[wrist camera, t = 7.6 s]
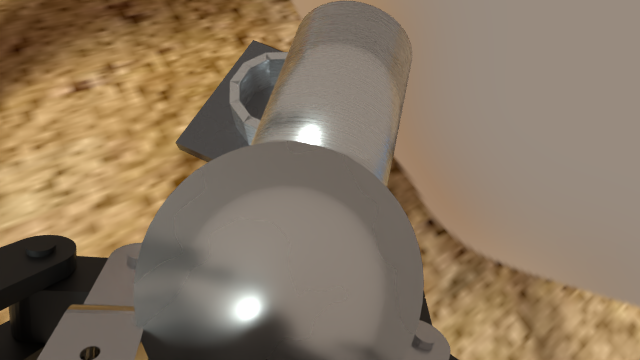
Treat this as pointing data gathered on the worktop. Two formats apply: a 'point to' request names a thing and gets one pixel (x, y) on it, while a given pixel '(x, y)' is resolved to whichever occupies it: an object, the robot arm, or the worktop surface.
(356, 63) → the duct elbow
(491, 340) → the worktop surface
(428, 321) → the robot arm
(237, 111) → the duct collar
